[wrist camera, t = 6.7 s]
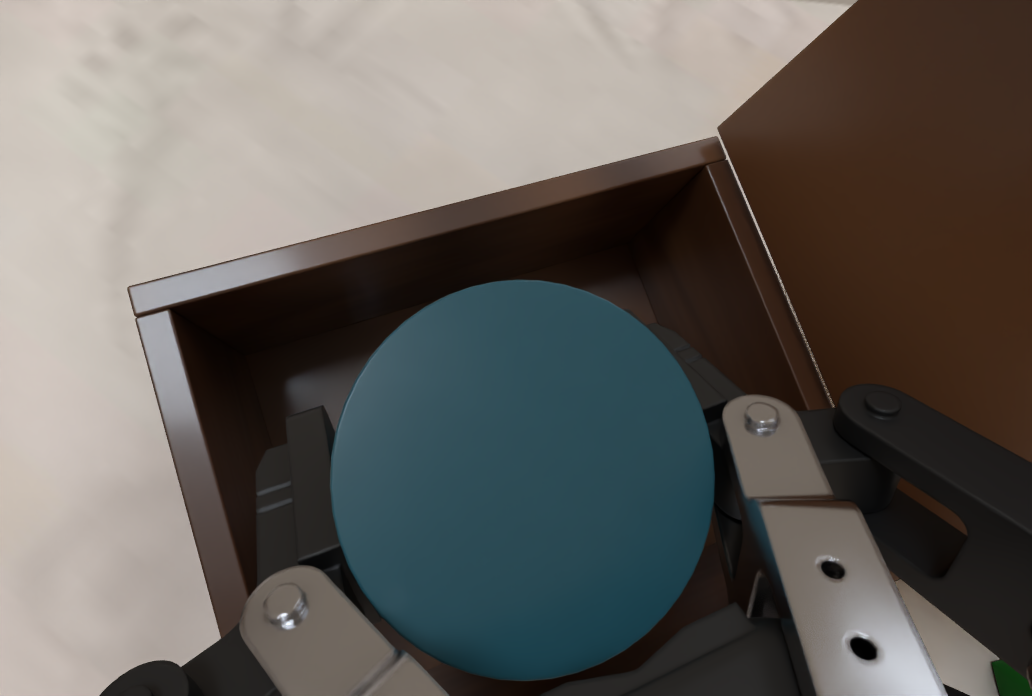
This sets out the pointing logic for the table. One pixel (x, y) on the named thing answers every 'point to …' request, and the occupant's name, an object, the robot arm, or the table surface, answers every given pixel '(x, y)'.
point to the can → (522, 480)
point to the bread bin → (427, 278)
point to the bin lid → (906, 205)
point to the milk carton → (1010, 680)
